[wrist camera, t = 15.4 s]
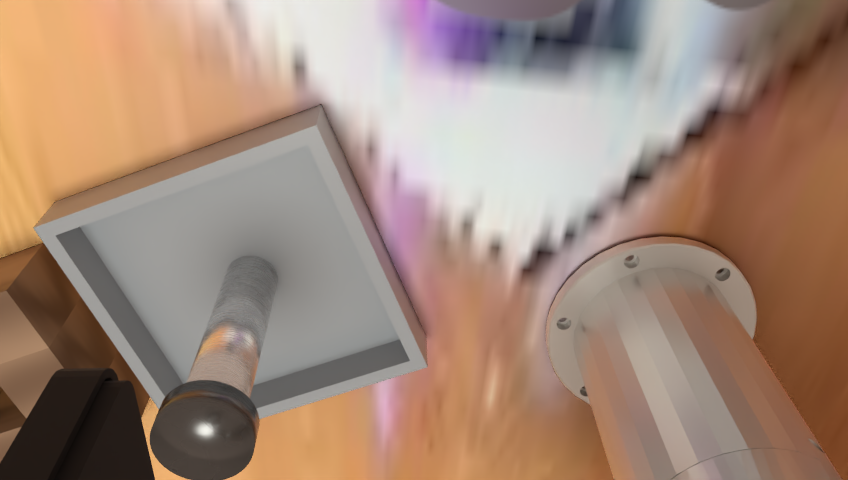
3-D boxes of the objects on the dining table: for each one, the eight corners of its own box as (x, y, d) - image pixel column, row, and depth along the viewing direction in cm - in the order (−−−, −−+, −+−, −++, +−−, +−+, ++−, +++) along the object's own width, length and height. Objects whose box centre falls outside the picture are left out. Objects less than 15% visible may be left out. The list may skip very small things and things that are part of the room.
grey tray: (426, 336, 50) (427, 367, 47) (193, 409, 52) (182, 442, 49) (321, 104, 42) (316, 125, 39) (54, 202, 44) (33, 227, 42)
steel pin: (303, 296, 47) (271, 465, 35) (235, 319, 48) (181, 492, 36) (270, 234, 45) (224, 392, 33) (199, 259, 46) (130, 422, 34)
